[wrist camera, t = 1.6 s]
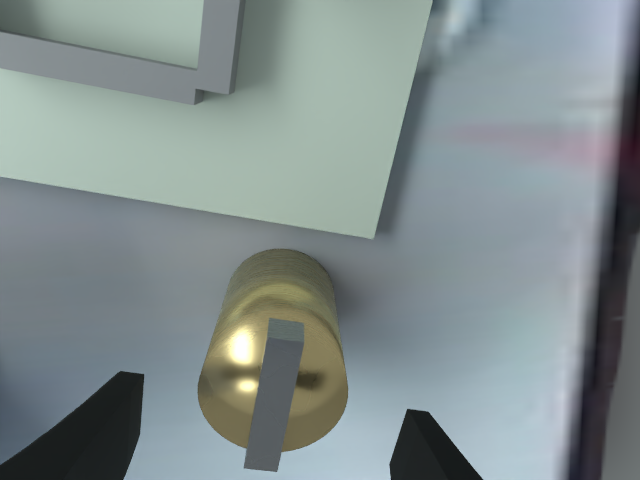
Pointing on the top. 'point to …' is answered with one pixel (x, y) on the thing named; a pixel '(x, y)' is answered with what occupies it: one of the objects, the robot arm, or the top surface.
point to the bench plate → (212, 102)
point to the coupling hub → (275, 358)
